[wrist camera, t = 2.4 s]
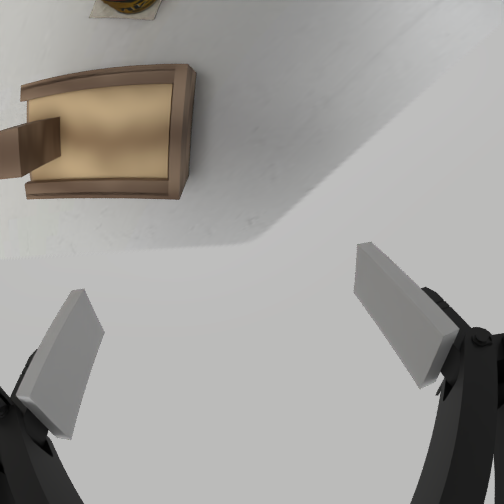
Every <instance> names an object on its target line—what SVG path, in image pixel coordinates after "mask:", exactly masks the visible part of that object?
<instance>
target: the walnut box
mask: <svg viewBox="0 0 504 504" xmlns="http://www.w3.org/2000/svg"><path fill="white" fill-rule="evenodd" d="M195 82H196V72H195V71H194V70H193V69H192V68H191V67H190V66H189V65H188V64H155V65H136V66H124V67H114V68H105V69H97V70H90V71H84V72H78V73H72V74H67V75H62V76H57V77H52V78H48V79H44V80H40V81H36V82H32V83H28V84H25V85H21V98H20V102H22V101H27V123H29V100H31V99H36V98H40V97H45V96H50V95H55V94H60V93H66V92H72V91H79V90H86V89H94V88H102V87H112V86H124V85H140V84H174V87H173V98H172V111H171V127H170V147H169V179H166V178H88V179H61V180H43V181H33V180H32V171H31V172H30V179H31V181H29V182H27V183H25V190H26V197H27V199H54V198H140V199H175V200H179V199H180V196H181V194H182V191H183V189H184V186H185V184H186V181H187V179H188V176H189V160H190V143H191V128H192V115H193V103H194V92H195Z"/></svg>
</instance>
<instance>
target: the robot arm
mask: <svg viewBox="0 0 504 504" xmlns="http://www.w3.org/2000/svg"><path fill="white" fill-rule="evenodd" d="M354 294H355V295H356V296H357V298H358V299H359V300H360V302H361V303H362V305H363V306H364V307H365V309H366V310H367V311H368V313H369V314H370V316H371V317H372V318H373V320H374V321H375V323H376V324H377V325H378V327H379V329H380V330H381V331H382V333H383V334H384V336H385V337H386V339H387V340H388V341H389V343H390V345H391V346H392V347H393V349H394V350H395V352H396V353H397V355H398V356H399V358H400V359H401V361H402V362H403V364H404V365H405V367H406V368H407V370H408V372H409V373H410V375H411V376H412V378H413V379H414V381H415V382H416V384H417V386H418V387H419V389H421V388H423V387H426V386H428V385H430V384H432V383H434V382H435V381H436V379H437V377H438V375H439V373H440V372H441V373H442V374H443V376H444V377H445V378H444V380H443V382H442V383H441V386H440V387H439V389H438V391H437V393H436V395H438V394H439V393H440V391H441V394H440V400H439V405H438V411H437V416H436V420H435V425H434V430H433V434H432V438H431V442H430V446H429V449H428V453H427V457H426V460H425V463H424V467H423V470H422V473H421V476H420V479H419V482H418V485H417V488H416V490H415V493H414V496H413V498H412V501H411V503H410V504H484V500H485V496H486V492H487V488H488V483H489V478H490V473H491V467H492V461H493V454H494V468H495V504H504V333H502V334H496V335H492V334H491V333H490V332H489V331H487V330H486V329H483V328H480V327H473V328H471V327H470V326H469V325H468V324H467V323H466V322H465V321H464V320H463V319H462V318H461V317H460V316H459V315H458V314H457V313H456V312H455V311H454V310H453V309H452V308H451V307H449V305H448V304H447V303H446V302H445V301H444V300H443V299H442V298H441V297H440V296H439V295H438V294H437V293H436V292H434V291H433V290H431V289H429V288H427V287H424V288H420V287H419V286H418V285H417V284H416V283H415V282H414V281H413V280H411V278H409V276H408V275H406V274H405V273H404V272H403V271H402V270H401V269H400V268H399V267H398V266H397V265H396V264H395V263H394V262H393V261H392V260H390V259H389V258H388V257H387V256H386V255H385V254H384V253H383V252H382V251H381V250H380V249H379V248H377V247H376V246H375V245H374V244H373V243H372V242H368V243H362V244H357V258H356V272H355V285H354ZM103 335H104V330H103V328H102V326H101V324H100V322H99V320H98V318H97V316H96V314H95V312H94V309H93V307H92V305H91V303H90V301H89V299H88V296H87V294H86V292H85V290H84V289H79V290H73V291H71V293H70V294H69V296H68V298H67V299H66V301H65V303H64V304H63V306H62V307H61V309H60V311H59V312H58V314H57V316H56V317H55V319H54V321H53V323H52V324H51V326H50V328H49V329H48V331H47V333H46V335H45V337H44V338H43V340H42V342H41V344H40V346H39V348H38V349H36V351H35V352H34V353H33V354H32V355H31V356H30V357H29V359H28V361H27V363H26V365H25V368H24V369H23V371H22V374H21V375H20V377H19V379H18V381H17V383H16V386H15V388H14V390H13V392H12V394H11V397H9V396H8V395H7V394H6V393H5V392H4V391H3V389H2V388H1V387H0V504H84V503H83V501H82V500H81V498H80V496H79V495H78V493H77V491H76V489H75V488H74V486H73V484H72V482H71V480H70V479H69V477H68V475H67V473H66V471H65V469H64V467H63V465H62V463H61V461H60V459H59V457H58V454H57V452H56V450H55V448H54V446H53V443H52V441H51V440H50V438H49V437H48V436H47V433H48V430H49V431H50V432H51V433H52V434H54V435H55V436H56V437H57V438H62V439H68V440H71V439H72V434H73V430H74V427H75V423H76V419H77V415H78V412H79V408H80V405H81V401H82V398H83V394H84V391H85V388H86V384H87V381H88V378H89V375H90V372H91V369H92V366H93V363H94V360H95V357H96V355H97V352H98V349H99V346H100V343H101V341H102V338H103Z"/></svg>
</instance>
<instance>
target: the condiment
mask: <svg viewBox="0 0 504 504" xmlns="http://www.w3.org/2000/svg"><path fill="white" fill-rule="evenodd" d="M161 1H162V0H96V1H95V4H94V7H93V9H92V11H91V14H90V16H89V18H128V19H144V20H154V18H155V15H156V13H157V10H158V8H159V6H160V3H161Z"/></svg>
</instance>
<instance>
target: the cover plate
mask: <svg viewBox="0 0 504 504" xmlns="http://www.w3.org/2000/svg"><path fill="white" fill-rule="evenodd" d="M173 87H174V84H140V85H124V86H112V87H102V88H94V89H86V90H79V91H72V92H66V93H60V94H55V95H50V96H45V97H40V98H36V99H31V100H29V123H25V124H21V125H18V126H14V127H11V128H8V129H4V130H1V131H0V179H8V178H17V177H23V176H24V175H26V174H28V173H30V172H31V171H32V180H33V181H43V180H61V179H88V178H166V179H169V147H170V127H171V111H172V98H173Z"/></svg>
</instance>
